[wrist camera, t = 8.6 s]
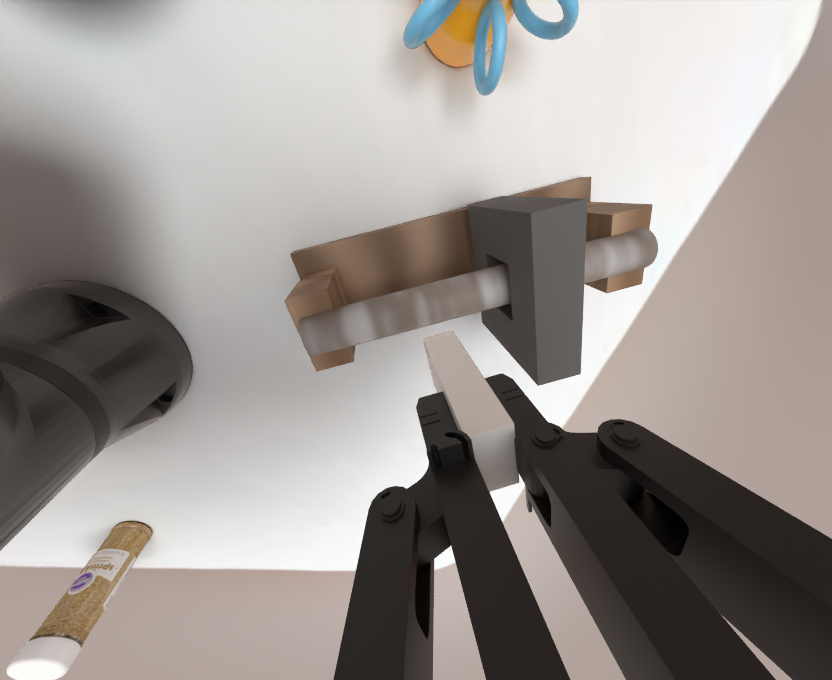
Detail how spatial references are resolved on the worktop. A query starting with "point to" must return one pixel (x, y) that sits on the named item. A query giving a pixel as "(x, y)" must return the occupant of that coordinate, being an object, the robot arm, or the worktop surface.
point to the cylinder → (479, 32)
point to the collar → (535, 278)
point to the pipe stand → (441, 273)
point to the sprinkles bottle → (80, 607)
